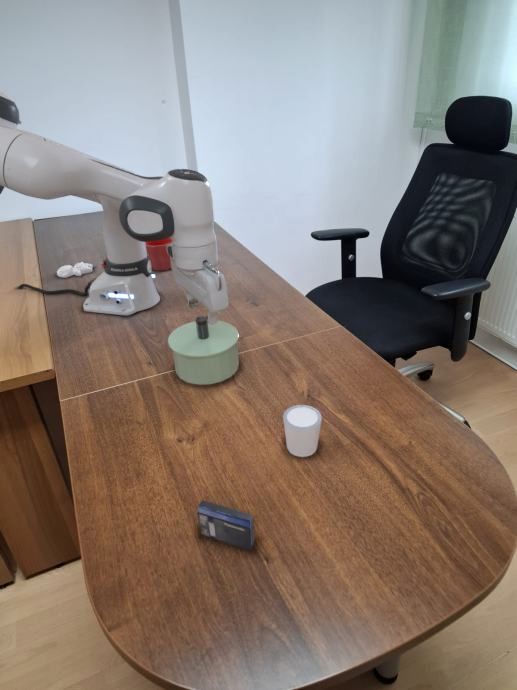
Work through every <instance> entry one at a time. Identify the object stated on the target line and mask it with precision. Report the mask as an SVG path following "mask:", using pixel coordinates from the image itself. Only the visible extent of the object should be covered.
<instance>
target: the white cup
mask: <svg viewBox="0 0 517 690" xmlns="http://www.w3.org/2000/svg"><path fill="white" fill-rule="evenodd" d="M282 418H283V419H282V420H283V427H284V434H285V443H286V449H287V451H288V452H289V454H291V455H293V456H295V457H299V458H306V457H309V456H312V455H313V454H315V453H316V452H317V449H318V445H319V439H320V434H321V427H322V421H323V416H322V413H321V412H320V411H319V410H318V409H317V408H316V407H314V406H311V405H306V404H296V405H293V406H290V407H288V408H286V410H285V411H284V413H283V414H282Z"/></svg>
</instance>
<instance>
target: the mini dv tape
mask: <svg viewBox="0 0 517 690" xmlns="http://www.w3.org/2000/svg"><path fill="white" fill-rule="evenodd" d="M254 516H255V515H254V514H250V513H247V512H245V511H241V510H238V509H234V508H231V507H228V506H224V505H220V504H218V503H214V502H210V501H206V500H204V499H201V500H200V502H199V503H198V506H197V518H198V525H199V531H200V535H202V536H204V537H207V538H210V539H213V540H217V541H220V542H223V543H226V544H228V545H232V546H235V547H238V548H240V549H241V548H242V549H244V550H247V551H253V547H254V546H255V543H256V531H255V517H254Z"/></svg>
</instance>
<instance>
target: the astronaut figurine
mask: <svg viewBox="0 0 517 690" xmlns="http://www.w3.org/2000/svg"><path fill="white" fill-rule="evenodd" d="M93 268H94V266H93V263H89V262H86V263H85V262H84V261H80V262H77V263H75V265H74V266H72V265H69V264H66V265H63V266H60V267H59V268H58V269H57V270H56V276H57V277H59V278H63V279H67V278H70V277H72V276H77V277H81V276H82V275H84V274H89V273H90V274H91V273H92V272H93Z"/></svg>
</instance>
